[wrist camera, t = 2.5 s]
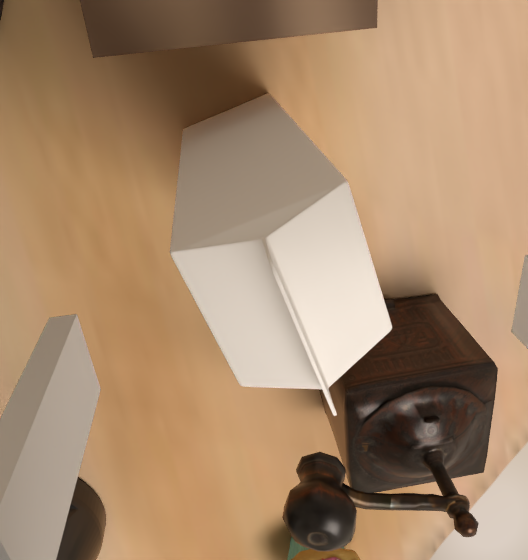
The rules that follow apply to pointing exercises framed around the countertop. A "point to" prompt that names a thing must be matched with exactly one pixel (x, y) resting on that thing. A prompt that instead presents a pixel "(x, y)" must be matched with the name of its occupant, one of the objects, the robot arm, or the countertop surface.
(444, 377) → the coffee grinder
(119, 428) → the countertop surface
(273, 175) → the milk
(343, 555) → the cupcake
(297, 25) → the riser
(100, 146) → the countertop surface
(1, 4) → the mortar and pestle
